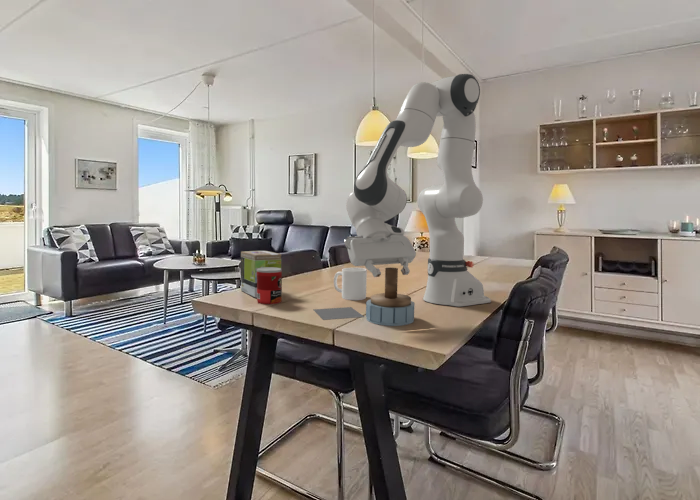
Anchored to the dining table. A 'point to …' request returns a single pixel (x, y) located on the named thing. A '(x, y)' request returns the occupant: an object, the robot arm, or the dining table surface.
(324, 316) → the mat
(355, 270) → the cup
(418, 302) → the dining table surface
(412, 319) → the grey ridged ring
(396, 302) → the lid
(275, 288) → the canned food
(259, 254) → the tea box
